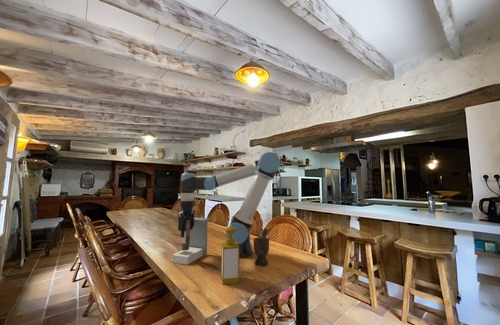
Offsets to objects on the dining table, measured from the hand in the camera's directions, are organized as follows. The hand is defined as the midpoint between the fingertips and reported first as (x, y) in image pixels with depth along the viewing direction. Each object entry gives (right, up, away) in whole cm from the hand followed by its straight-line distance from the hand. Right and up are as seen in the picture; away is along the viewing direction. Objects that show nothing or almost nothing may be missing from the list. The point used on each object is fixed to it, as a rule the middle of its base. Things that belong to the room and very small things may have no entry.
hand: (185, 241), depth 121 cm
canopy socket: (+1, -10, +3) cm, 11 cm away
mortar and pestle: (+44, -10, -7) cm, 45 cm away
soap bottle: (+30, -8, -24) cm, 39 cm away
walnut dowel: (0, -4, 0) cm, 4 cm away
